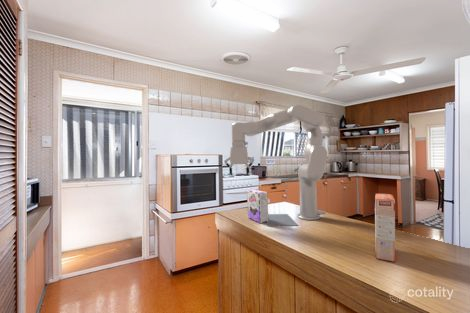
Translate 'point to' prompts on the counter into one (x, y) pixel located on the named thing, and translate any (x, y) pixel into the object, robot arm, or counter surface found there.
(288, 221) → the mat
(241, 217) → the counter surface
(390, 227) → the cracker box
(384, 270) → the counter surface
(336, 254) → the counter surface
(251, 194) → the candy box
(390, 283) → the counter surface
